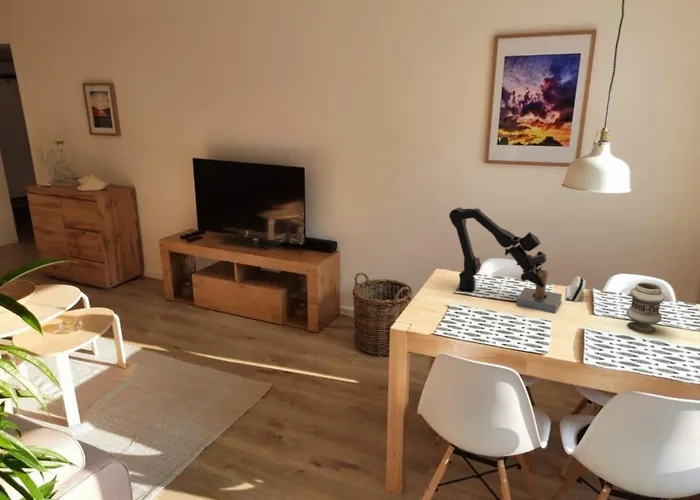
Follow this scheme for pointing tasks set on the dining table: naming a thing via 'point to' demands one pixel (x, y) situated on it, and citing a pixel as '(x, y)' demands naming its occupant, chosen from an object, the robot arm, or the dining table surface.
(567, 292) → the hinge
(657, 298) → the apothecary jar
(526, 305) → the grey slotted block
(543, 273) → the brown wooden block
